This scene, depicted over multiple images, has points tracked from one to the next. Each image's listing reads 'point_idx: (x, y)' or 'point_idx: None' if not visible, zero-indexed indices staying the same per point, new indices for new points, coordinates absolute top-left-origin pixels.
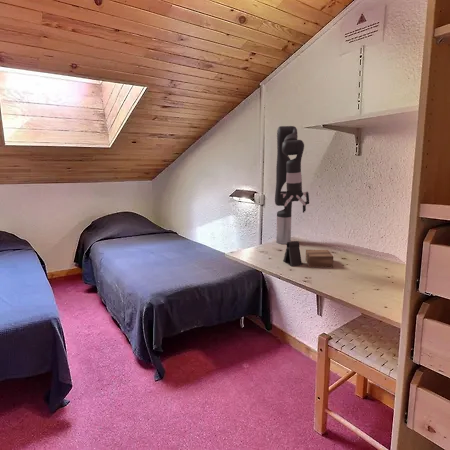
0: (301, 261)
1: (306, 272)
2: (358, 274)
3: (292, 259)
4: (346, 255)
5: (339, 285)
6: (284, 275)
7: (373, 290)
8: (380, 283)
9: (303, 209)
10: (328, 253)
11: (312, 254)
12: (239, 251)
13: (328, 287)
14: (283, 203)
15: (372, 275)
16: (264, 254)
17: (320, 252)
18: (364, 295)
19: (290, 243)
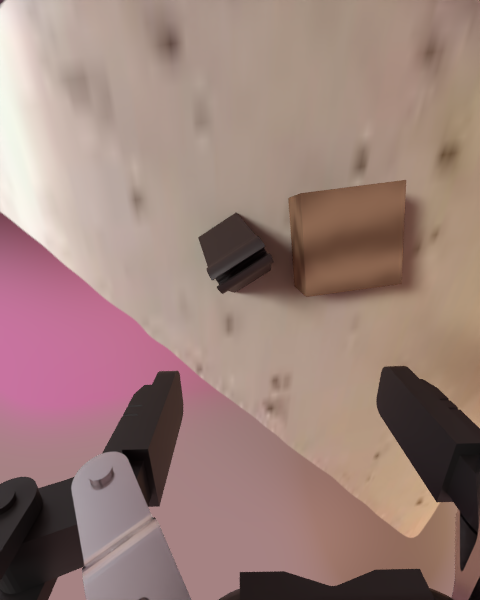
0: (270, 268)
1: (280, 340)
2: (436, 331)
3: (235, 288)
4: (475, 103)
5: (357, 418)
6: (211, 376)
7: None
8: (467, 388)
9: (405, 443)
10: (392, 241)
11: (321, 266)
12: None
13: (326, 435)
14: (61, 571)
15: (474, 333)
16: (101, 137)
17: (361, 230)
18: (398, 461)
19: (226, 288)
